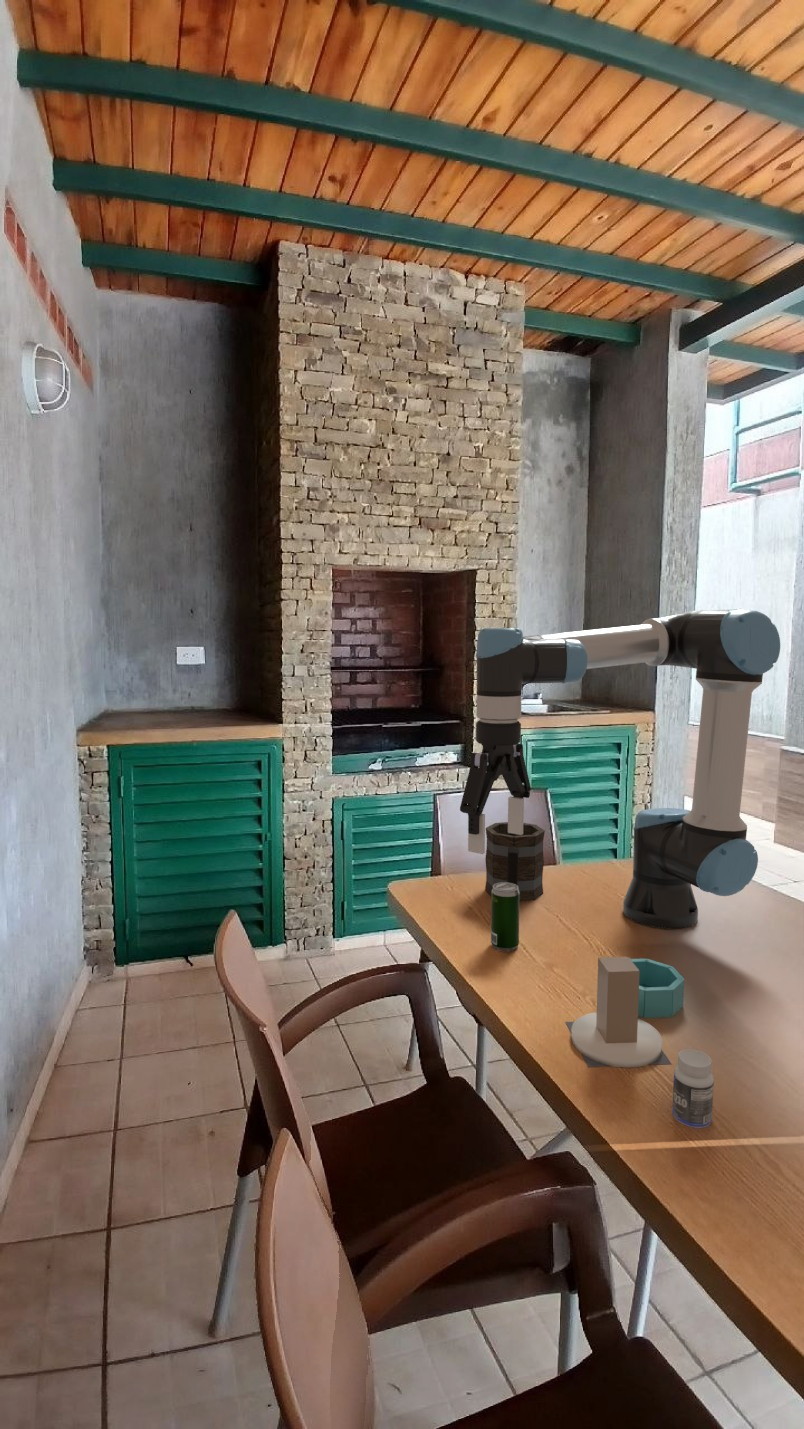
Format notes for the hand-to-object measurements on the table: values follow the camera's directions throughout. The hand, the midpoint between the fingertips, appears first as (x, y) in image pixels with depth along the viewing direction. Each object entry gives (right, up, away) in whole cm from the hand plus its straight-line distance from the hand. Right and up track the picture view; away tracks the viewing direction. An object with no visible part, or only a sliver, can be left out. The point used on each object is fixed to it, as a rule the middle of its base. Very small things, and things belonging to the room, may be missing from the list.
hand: (496, 842), depth 130 cm
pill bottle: (+21, -30, -34) cm, 49 cm away
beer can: (+4, -23, +17) cm, 29 cm away
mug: (+9, -20, +43) cm, 48 cm away
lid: (+16, -27, -17) cm, 35 cm away
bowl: (+24, -26, -5) cm, 35 cm away
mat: (+16, -27, -17) cm, 36 cm away
